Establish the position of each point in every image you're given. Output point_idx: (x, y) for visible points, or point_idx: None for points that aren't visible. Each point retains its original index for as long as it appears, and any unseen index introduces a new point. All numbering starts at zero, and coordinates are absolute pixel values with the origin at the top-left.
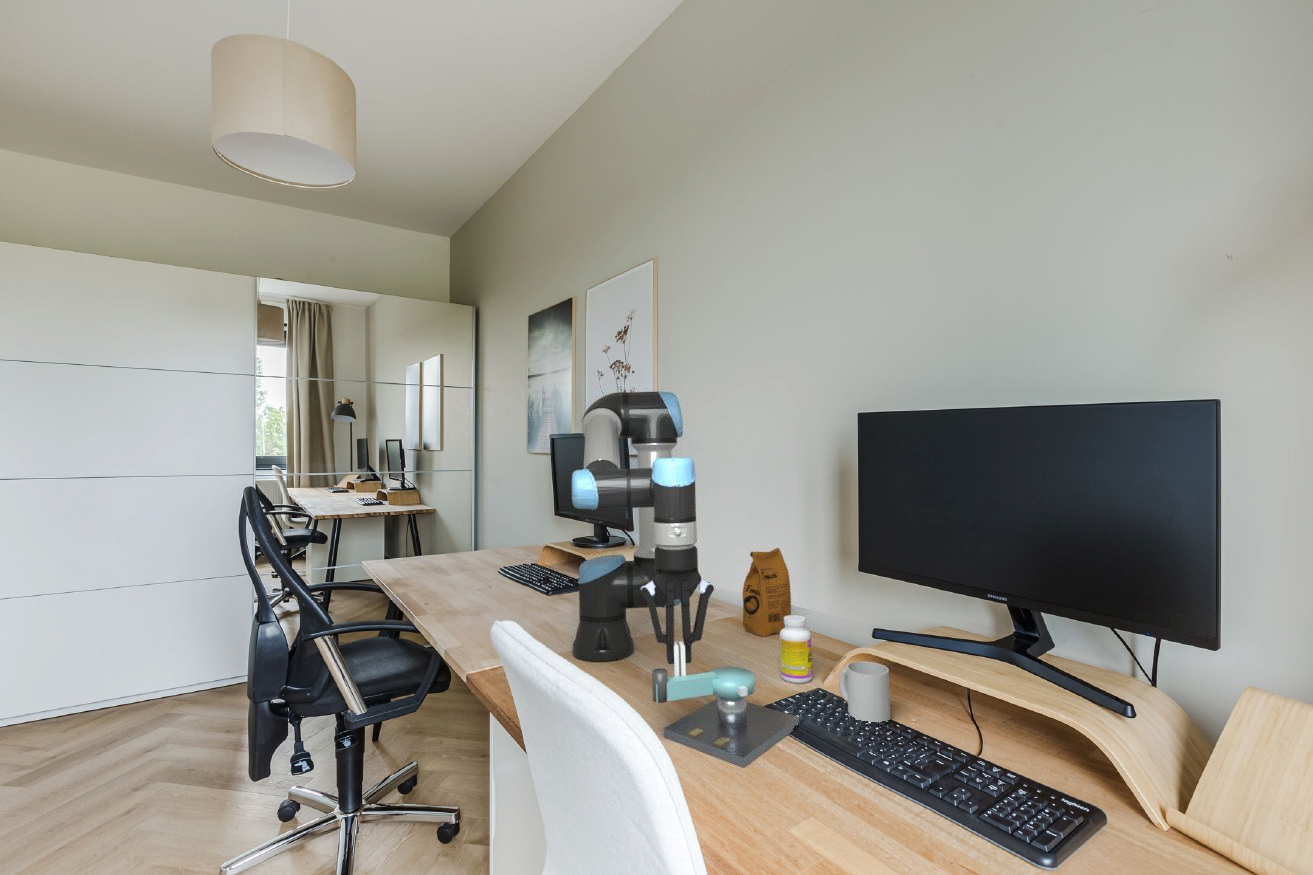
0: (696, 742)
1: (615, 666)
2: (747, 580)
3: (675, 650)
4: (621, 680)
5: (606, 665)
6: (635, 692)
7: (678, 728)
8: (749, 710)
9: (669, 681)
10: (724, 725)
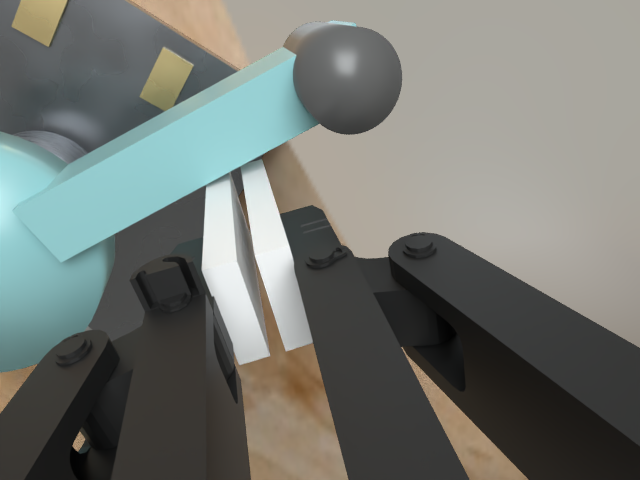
0: (152, 16)
1: (469, 475)
2: None
3: (275, 233)
4: (450, 414)
5: (491, 474)
6: (408, 361)
7: None
8: None
9: (283, 82)
10: (63, 140)
